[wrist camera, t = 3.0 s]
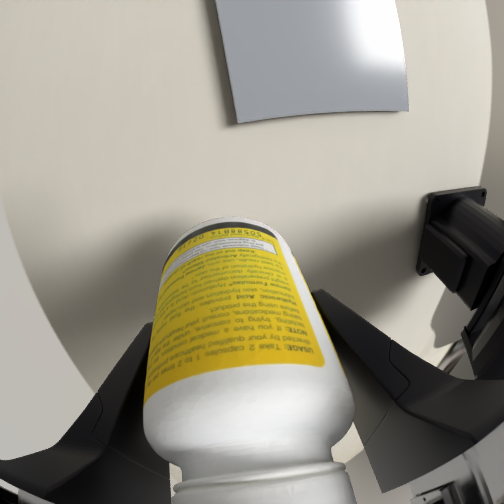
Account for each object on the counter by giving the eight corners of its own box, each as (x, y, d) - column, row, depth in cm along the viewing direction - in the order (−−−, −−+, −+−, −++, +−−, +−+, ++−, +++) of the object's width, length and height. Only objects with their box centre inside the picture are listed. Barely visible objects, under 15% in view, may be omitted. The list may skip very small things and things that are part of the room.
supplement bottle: (138, 271, 11) (97, 526, 3) (235, 183, 10) (330, 536, 1) (225, 334, 14) (252, 532, 5) (315, 272, 12) (414, 487, 4)
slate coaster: (378, -32, 7) (384, -35, 7) (402, 110, 12) (408, 111, 11) (207, -40, 7) (207, -45, 6) (237, 122, 12) (238, 123, 11)
